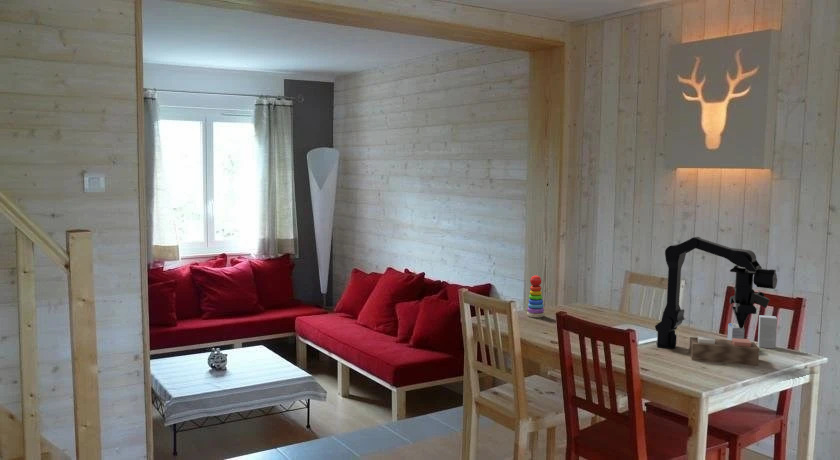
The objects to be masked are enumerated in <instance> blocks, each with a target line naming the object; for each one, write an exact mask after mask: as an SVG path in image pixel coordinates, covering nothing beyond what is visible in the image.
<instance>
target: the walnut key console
mask: <svg viewBox="0 0 840 460" xmlns="http://www.w3.org/2000/svg"><path fill="white" fill-rule="evenodd" d="M714 339H715V344H705V343H698V342H697V337H693V336H690V337H689V351H688V354H689V356H690V359H691V361H698V362H699V361H701V362H709V363H710V362H713V363H723V364H725V363H726V364H737V365H747V366H759V361H760V360H759V357H760V347H759V346H758V344H756V342H754V341H750V342H751V347H743V346H733V344H732V340H727V339H719V338H714Z"/></svg>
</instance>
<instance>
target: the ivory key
mask: <svg viewBox="0 0 840 460" xmlns="http://www.w3.org/2000/svg"><path fill="white" fill-rule="evenodd" d="M696 336H697V337H696V338H697V342H698V343H705V344H715V339H716V338H715V337H714V336H709V335H696Z"/></svg>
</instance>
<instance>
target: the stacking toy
mask: <svg viewBox="0 0 840 460" xmlns="http://www.w3.org/2000/svg"><path fill="white" fill-rule="evenodd" d="M530 284H531V286H530V291H529V296H528V298H529V299H528V305H527V306H528V307H527V312H526V315H527V317H530V318H543V317H544V316H545V309H544V300H543V295H542V294H543V292H542V286H541V284H542V278H541V276H539V275H533V276H531V277H530Z"/></svg>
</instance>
